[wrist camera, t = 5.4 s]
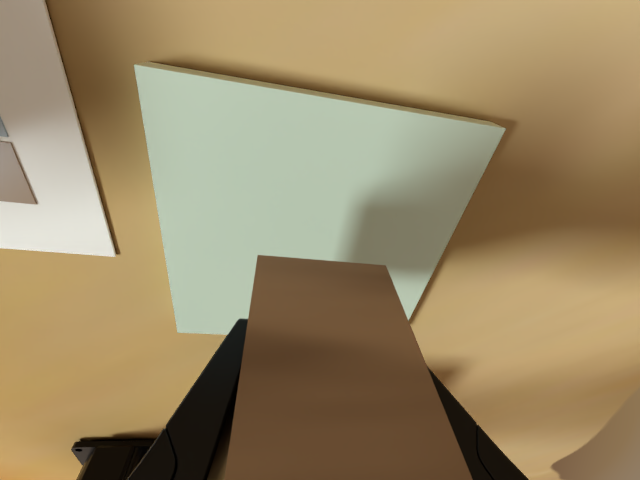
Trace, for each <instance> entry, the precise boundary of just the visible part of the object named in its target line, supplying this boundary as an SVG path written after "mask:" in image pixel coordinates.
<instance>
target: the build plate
mask: <svg viewBox="0 0 640 480" xmlns="http://www.w3.org/2000/svg"><path fill="white" fill-rule="evenodd" d="M134 68H135V75H136V81H137V87H138V93H139V99H140V105H141V111H142V118H143V124H144V130H145V136H146V142H147V148H148V154H149V160H150V167H151V173H152V179H153V185H154V191H155V197H156V203H157V210H158V216H159V222H160V228H161V234H162V240H163V246H164V252H165V259H166V265H167V271H168V277H169V283H170V289H171V295H172V302H173V308H174V314H175V320H176V326H177V332H178V333H200V334H225V335H228V333H229V332H230V330H231V329H232V327H233V326H234V324H235V323H236V322H237V320H238V319H240V318H245V319H248V317H249V310H250V303H251V296H252V290H253V283H254V276H255V269H256V263H257V256H258V255H266V256H278V257H290V258H303V259H315V260H327V261H339V262H351V263H363V264H375V265H386V267H387V269H388V272H389V274H390V277H391V279H392V281H393V284H394V286H395V289H396V291H397V294H398V296H399V299H400V301H401V304H402V306H403V309H404V311H405V314H406V316H407V319H408V321H409V319H410V317H411V315H412V313H413V311H414V309H415V307H416V305H417V303H418V301H419V299H420V297H421V295H422V293H423V291H424V289H425V287H426V285H427V283H428V281H429V279H430V277H431V275H432V273H433V271H434V269H435V267H436V265H437V264H438V262H439V260H440V258H441V256H442V254H443V252H444V250H445V248H446V246H447V244H448V242H449V240H450V238H451V236H452V234H453V232H454V230H455V228H456V226H457V224H458V222H459V220H460V218H461V216H462V214H463V212H464V210H465V208H466V206H467V204H468V203H469V201H470V199H471V197H472V195H473V193H474V191H475V189H476V187H477V185H478V183H479V181H480V179H481V177H482V175H483V173H484V171H485V169H486V167H487V165H488V163H489V161H490V159H491V157H492V155H493V153H494V151H495V149H496V147H497V145H498V143H499V141H500V140H501V138H502V136H503V134H504V132H505V130H506V128H504V127H501V126H499V125H497V124H495V123H493V122H491V121H485V120H480V119H474V118H468V117H462V116H457V115H451V114H445V113H439V112H434V111H428V110H422V109H417V108H411V107H405V106H399V105H394V104H388V103H382V102H376V101H371V100H365V99H359V98H354V97H348V96H342V95H336V94H331V93H325V92H319V91H314V90H308V89H302V88H296V87H291V86H285V85H279V84H273V83H268V82H262V81H256V80H251V79H245V78H239V77H233V76H228V75H222V74H216V73H211V72H205V71H199V70H193V69H188V68H182V67H176V66H170V65H165V64H159V63H153V62H143V63H139V64H134Z"/></svg>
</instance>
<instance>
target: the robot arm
mask: <svg viewBox="0 0 640 480" xmlns="http://www.w3.org/2000/svg"><path fill="white" fill-rule="evenodd" d="M247 323H248V319H245V318H240V319H238V320H237V322H236V323H235V324H234V326H233V327H232V329H231V330H230V332H229V333H228V335H227V336H226V338H225V339H224V341H223V342H222V344H221V345H220V346H219V348H218V349H217V351H216V352H215V354H214V355H213V357H212V358H211V360H210V361H209V363H208V364H207V366H206V367H205V369H204V370H203V371H202V373H201V374H200V376H199V377H198V379H197V380H196V382H195V383H194V385H193V386H192V388H191V389H190V391H189V392H188V393H187V395H186V396H185V398H184V399H183V401H182V402H181V404H180V405H179V407H178V408H177V410H176V411H175V413H174V414H173V415H172V417H171V418H170V420H169V421H168V423H167V424H166V428H164V429H163V430H162V431H161V433H160V434H159V436H158V437H157V439H156V440H142V441H79V442H75V443H74V445H73V447H72V449H71V450H72V452H73V453H74V455H75V456H76V457H77V459H78V460H79V461H80V463H81V464H82V465H83V467H82V469H81V471H80V473H79V475H78V477H77V479H76V480H224V478H225V471H226V465H227V458H228V451H229V444H230V438H231V431H232V424H233V418H234V411H235V404H236V397H237V391H238V384H239V377H240V370H241V364H242V357H243V350H244V344H245V337H246V330H247ZM426 366H427V365H426ZM427 368H428V367H427ZM428 370H429V373H430V375H431V378H432V380H433V383H434V385H435V388H436V390H437V393H438V395H439V398H440V400H441V403H442V405H443V408H444V410H445V412H446V415H447V417H448V420H449V422H450V425H451V427H452V430H453V432H454V435H455V437H456V440H457V442H458V445H459V447H460V450H461V452H462V454H463V457H464V459H465V462H466V464H467V467H468V469H469V472H470V474H471V477H472V479H473V480H529V479H528V478H527V477H526V476H525V475H524V474H523V473H522V472H521V471H520V470H519V469H518V468H517V467H516V466H515V465H514V464H513V463H512V462H511V461H510V460H509V459H508V458H507V457H506V455H505V454H504V453H503V452H502V451H501V450H500V449H499V448H498V447H497V445H496V444H495V443H494V442H493V441H492V440H491V439H490V438H489V437H488V435H487V434H486V433H485V432H484V431H483V430H482V429H481V427H480V426H479V425H477V424H476V422H475V421H474V419H473V418H472V417H471V416H470V415H469V414H468V413H467V411H466V410H465V409H464V408H463V407H462V406H461V405H460V403H459V402H458V401H457V400H456V399H455V398H454V396H453V395H452V394H451V393H450V392H449V391H448V390H447V388H446V387H445V386H444V385H443V384H442V383H441V382H440V380H439V379H438V378H437V377H436V376H435V375H434V374H433V372H432V371H431V370H430V369H429V368H428Z"/></svg>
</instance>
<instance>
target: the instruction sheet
mask: <svg viewBox="0 0 640 480" xmlns="http://www.w3.org/2000/svg"><path fill="white" fill-rule="evenodd" d="M0 248H6V249H19V250H32V251H46V252H59V253H72V254H85V255H99V256H112V257H116V252H115V248H114V245H113V241H112V238H111V234H110V230H109V227H108V223H107V220H106V216H105V213H104V209H103V206H102V202H101V198H100V195H99V191H98V188H97V184H96V181H95V177H94V173H93V170H92V166H91V163H90V159H89V156H88V152H87V149H86V145H85V141H84V138H83V134H82V131H81V127H80V124H79V120H78V116H77V113H76V109H75V106H74V102H73V99H72V95H71V92H70V88H69V84H68V81H67V77H66V74H65V70H64V67H63V63H62V59H61V56H60V52H59V49H58V45H57V42H56V38H55V35H54V31H53V27H52V24H51V20H50V17H49V13H48V10H47V6H46V2H45V0H0Z"/></svg>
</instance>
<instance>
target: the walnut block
mask: <svg viewBox="0 0 640 480" xmlns="http://www.w3.org/2000/svg"><path fill="white" fill-rule="evenodd" d="M224 480H473V479H472V477H471V474H470V472H469V469H468V467H467V464H466V462H465V459H464V457H463V454H462V452H461V450H460V447H459V445H458V442H457V440H456V437H455V435H454V432H453V430H452V427H451V425H450V422H449V420H448V417H447V415H446V412H445V410H444V408H443V405H442V403H441V400H440V398H439V395H438V393H437V390H436V388H435V385H434V383H433V380H432V378H431V375H430V373H429V370H428V368H427V366H426V363H425V361H424V358H423V356H422V353H421V351H420V348H419V346H418V343H417V341H416V338H415V336H414V333H413V331H412V328H411V326H410V323H409V321H408V319H407V316H406V314H405V311H404V309H403V306H402V304H401V301H400V299H399V296H398V294H397V291H396V289H395V286H394V284H393V281H392V279H391V277H390V274H389V272H388V269H387V267H386V265H375V264H363V263H351V262H339V261H327V260H315V259H303V258H290V257H278V256H266V255H258V256H257V263H256V269H255V276H254V283H253V290H252V296H251V303H250V310H249V317H248V323H247V330H246V337H245V344H244V350H243V357H242V364H241V370H240V377H239V384H238V391H237V397H236V404H235V411H234V418H233V424H232V431H231V438H230V444H229V451H228V458H227V465H226V471H225V478H224Z"/></svg>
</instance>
